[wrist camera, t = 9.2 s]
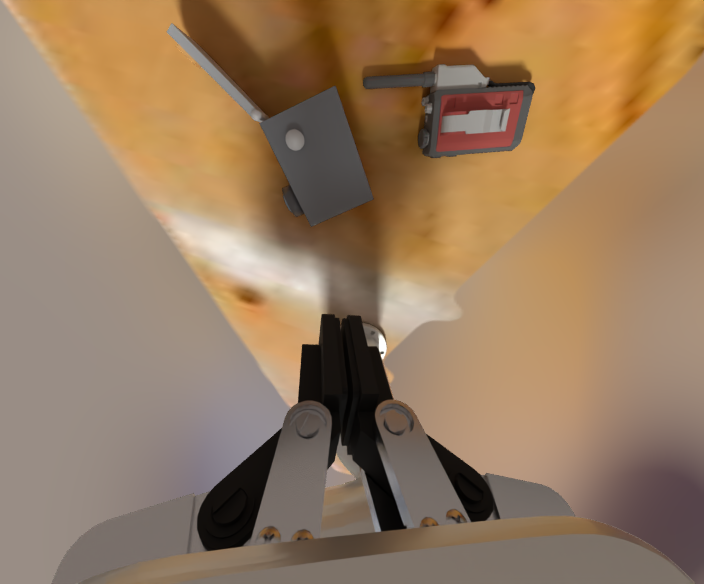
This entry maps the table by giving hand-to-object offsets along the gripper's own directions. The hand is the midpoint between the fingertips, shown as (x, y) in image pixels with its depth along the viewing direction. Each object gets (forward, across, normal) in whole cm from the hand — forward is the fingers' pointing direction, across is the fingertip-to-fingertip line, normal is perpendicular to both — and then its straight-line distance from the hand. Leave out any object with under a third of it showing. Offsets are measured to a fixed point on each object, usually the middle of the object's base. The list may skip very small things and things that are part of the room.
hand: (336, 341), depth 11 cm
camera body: (+27, +1, -5) cm, 28 cm away
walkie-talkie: (+28, -14, -12) cm, 33 cm away
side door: (+27, +11, -11) cm, 31 cm away
